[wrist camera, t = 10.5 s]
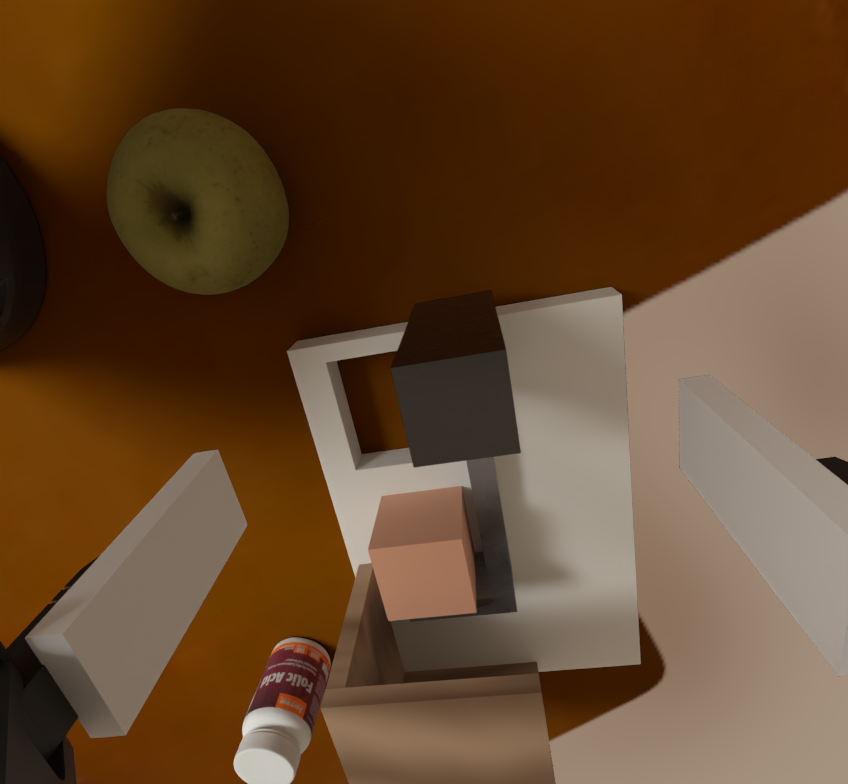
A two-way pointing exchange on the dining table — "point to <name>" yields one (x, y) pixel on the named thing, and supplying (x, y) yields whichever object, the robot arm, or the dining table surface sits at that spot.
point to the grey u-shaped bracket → (463, 419)
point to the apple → (197, 201)
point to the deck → (513, 487)
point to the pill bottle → (283, 712)
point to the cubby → (428, 710)
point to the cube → (424, 554)
